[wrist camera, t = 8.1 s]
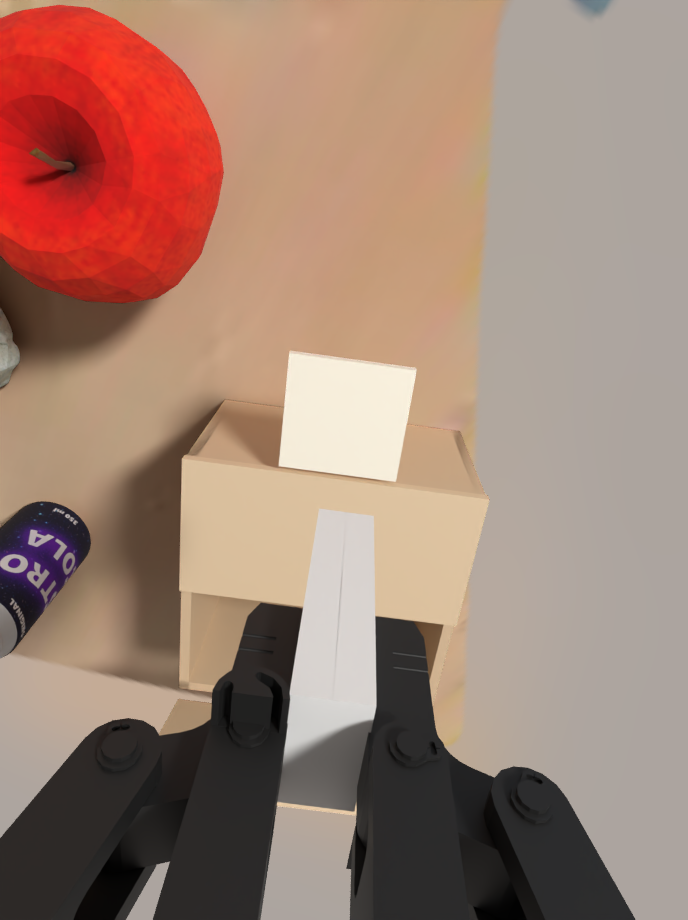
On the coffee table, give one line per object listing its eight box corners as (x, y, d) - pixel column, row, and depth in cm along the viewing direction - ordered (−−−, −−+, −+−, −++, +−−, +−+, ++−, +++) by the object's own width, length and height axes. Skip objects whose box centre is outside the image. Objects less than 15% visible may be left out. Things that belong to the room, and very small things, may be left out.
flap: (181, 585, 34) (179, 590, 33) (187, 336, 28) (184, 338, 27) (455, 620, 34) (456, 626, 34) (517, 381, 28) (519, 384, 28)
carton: (215, 594, 46) (178, 689, 37) (225, 399, 40) (184, 458, 31) (417, 620, 47) (429, 720, 38) (459, 431, 40) (486, 498, 31)
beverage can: (83, 572, 46) (-5, 689, 35) (12, 542, 45) (-102, 654, 34) (105, 515, 44) (18, 621, 33) (30, 483, 43) (-85, 581, 32)
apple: (254, 285, 37) (198, 329, 24) (66, 278, 37) (-82, 318, 25) (247, 58, 32) (173, -29, 20) (31, 51, 32) (-174, -38, 20)
